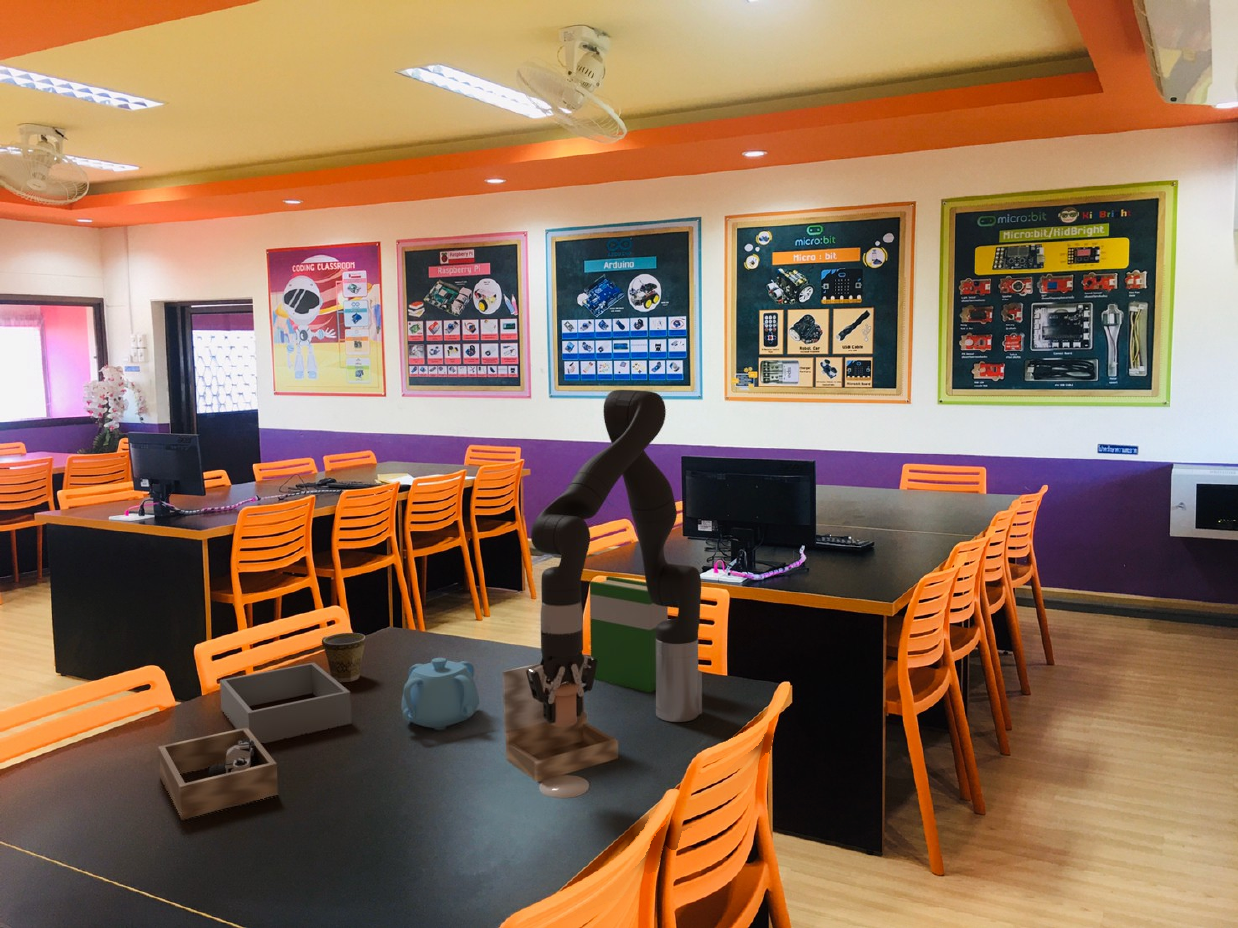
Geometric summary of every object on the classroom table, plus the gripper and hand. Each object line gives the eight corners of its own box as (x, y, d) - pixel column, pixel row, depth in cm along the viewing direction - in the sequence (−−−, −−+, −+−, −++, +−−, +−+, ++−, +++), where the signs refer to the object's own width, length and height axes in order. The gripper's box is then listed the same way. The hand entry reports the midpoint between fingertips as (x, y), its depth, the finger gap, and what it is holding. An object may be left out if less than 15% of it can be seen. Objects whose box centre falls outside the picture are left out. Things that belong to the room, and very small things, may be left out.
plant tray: (315, 691, 226) (314, 662, 225) (351, 723, 205) (350, 691, 204) (221, 710, 214) (219, 680, 213) (250, 746, 193) (248, 713, 192)
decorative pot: (473, 734, 199) (471, 671, 197) (395, 735, 198) (393, 671, 197) (483, 706, 215) (481, 647, 213) (411, 707, 215) (409, 648, 213)
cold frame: (580, 738, 196) (579, 652, 194) (618, 760, 185) (617, 670, 183) (502, 759, 186) (500, 669, 184) (537, 784, 175) (535, 689, 173)
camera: (213, 777, 179) (209, 733, 177) (257, 771, 182) (254, 727, 180) (208, 813, 167) (204, 766, 165) (255, 805, 170) (252, 758, 168)
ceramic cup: (375, 675, 236) (373, 636, 235) (344, 687, 228) (342, 646, 227) (339, 667, 243) (337, 628, 242) (307, 678, 235) (305, 638, 234)
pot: (568, 713, 175) (568, 676, 175) (585, 723, 171) (585, 685, 170) (541, 720, 172) (540, 682, 171) (557, 730, 167) (557, 691, 167)
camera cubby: (248, 756, 188) (247, 727, 188) (278, 795, 171) (276, 763, 170) (159, 777, 179) (158, 746, 179) (181, 820, 162) (179, 786, 161)
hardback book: (591, 678, 233) (589, 581, 230) (609, 670, 239) (608, 576, 236) (650, 692, 222) (649, 591, 220) (667, 683, 228) (667, 585, 226)
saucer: (572, 774, 179) (572, 771, 179) (598, 791, 172) (598, 788, 171) (530, 786, 174) (530, 783, 174) (555, 805, 166) (555, 801, 166)
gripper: (584, 615, 177) (585, 704, 178) (516, 628, 168) (517, 721, 170) (607, 624, 170) (607, 716, 172) (537, 637, 162) (539, 734, 164)
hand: (563, 718), depth 171 cm, fingers closed on pot, 4 cm apart
